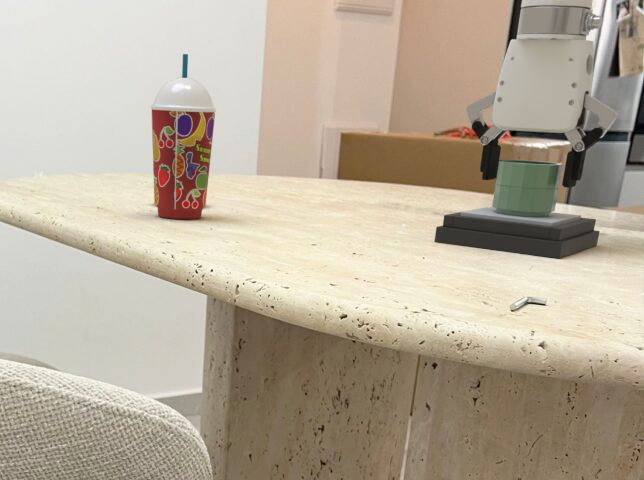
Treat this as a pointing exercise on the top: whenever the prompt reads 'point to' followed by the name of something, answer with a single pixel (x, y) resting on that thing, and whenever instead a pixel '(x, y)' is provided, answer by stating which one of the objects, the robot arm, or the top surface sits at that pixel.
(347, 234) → the top surface
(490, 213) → the pan
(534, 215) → the green stacked cylinder
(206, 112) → the smoothie
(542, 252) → the scale
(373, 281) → the top surface
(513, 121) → the robot arm
